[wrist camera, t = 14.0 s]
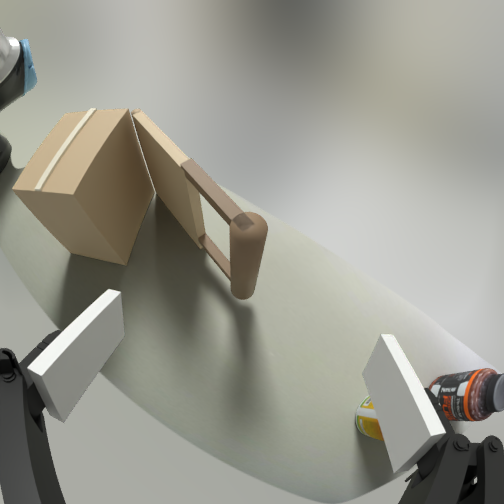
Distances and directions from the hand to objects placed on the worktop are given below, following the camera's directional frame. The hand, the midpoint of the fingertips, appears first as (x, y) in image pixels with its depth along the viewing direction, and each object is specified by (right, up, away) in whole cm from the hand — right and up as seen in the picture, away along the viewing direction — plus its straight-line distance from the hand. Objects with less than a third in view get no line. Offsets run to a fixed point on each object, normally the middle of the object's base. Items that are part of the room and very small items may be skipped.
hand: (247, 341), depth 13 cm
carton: (-18, +8, +20) cm, 28 cm away
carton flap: (-6, +6, +20) cm, 21 cm away
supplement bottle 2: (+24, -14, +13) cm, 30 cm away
